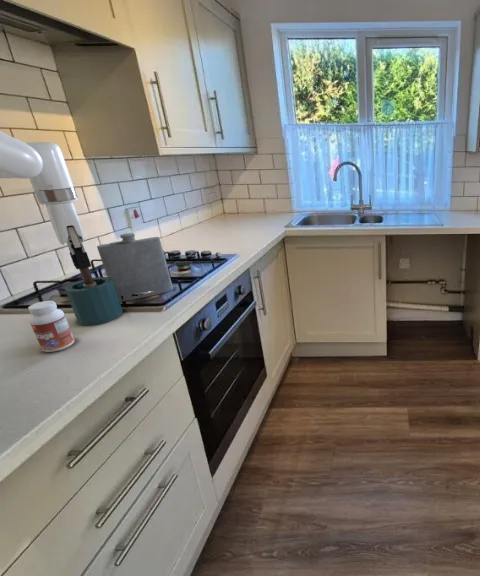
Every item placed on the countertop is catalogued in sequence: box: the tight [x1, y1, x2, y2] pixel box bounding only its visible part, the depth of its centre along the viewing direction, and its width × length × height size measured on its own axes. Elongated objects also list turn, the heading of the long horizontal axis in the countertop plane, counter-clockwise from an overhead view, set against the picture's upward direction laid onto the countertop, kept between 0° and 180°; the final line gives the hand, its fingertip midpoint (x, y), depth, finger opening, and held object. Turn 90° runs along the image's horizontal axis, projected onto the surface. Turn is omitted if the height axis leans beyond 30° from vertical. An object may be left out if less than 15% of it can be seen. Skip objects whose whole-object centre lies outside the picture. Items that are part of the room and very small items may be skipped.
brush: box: [78, 267, 101, 289], centre depth 97 cm, size 5×5×17 cm
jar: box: [64, 276, 124, 326], centre depth 100 cm, size 10×10×10 cm
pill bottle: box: [27, 300, 75, 353], centre depth 85 cm, size 6×6×11 cm
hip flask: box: [96, 232, 174, 303], centre depth 111 cm, size 16×4×20 cm, turn 126°
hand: (82, 266), depth 96 cm, fingers closed on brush
